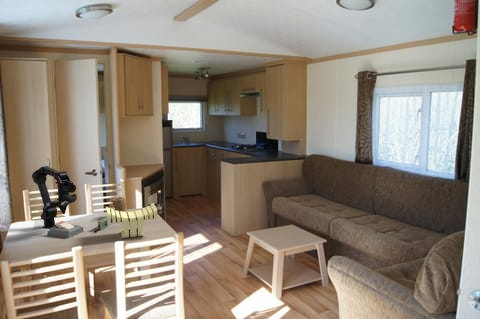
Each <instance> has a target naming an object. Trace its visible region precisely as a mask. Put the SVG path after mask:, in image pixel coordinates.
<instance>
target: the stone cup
mask: <svg viewBox="0 0 480 319" xmlns="http://www.w3.org/2000/svg"><path fill="white" fill-rule="evenodd" d="M111 201H112V205H113V208H114V211H116V210H117V211H119V214H120V211H122V212H126V213H127V216H128V212H129V211H127V202H126V197H124V196H121V197H116V198H113V199H112V200H111ZM120 218H121V215H120ZM128 218H129V216H128Z"/></svg>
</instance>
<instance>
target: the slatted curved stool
mask: <svg viewBox="0 0 480 319" xmlns="http://www.w3.org/2000/svg"><path fill="white" fill-rule="evenodd" d="M105 208H106V216H107V222H108V225H110V224H111V223H113V224H117V225H121V228H122V229H121V231H120V233H121V238H122V239H124V238H125V239H126V238H135V237H144V233H143V228H144V225H145V223H147V222H148V221H153V220H154V221H158V210H157V206H156V205H155V203H154V202H153V203H151V204H150V205H147V206H146V207H143V208H142V209H138V210H133V211H126V212H128V216H129V218H128V216H127V213H126V212H122V211H120V214H119V211H117V210H115V209H113V208H110V207H107V206H106V207H105ZM111 214H112V219H111ZM120 215H121V218H120ZM113 224H111V225H113ZM111 225H110V226H111Z"/></svg>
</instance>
